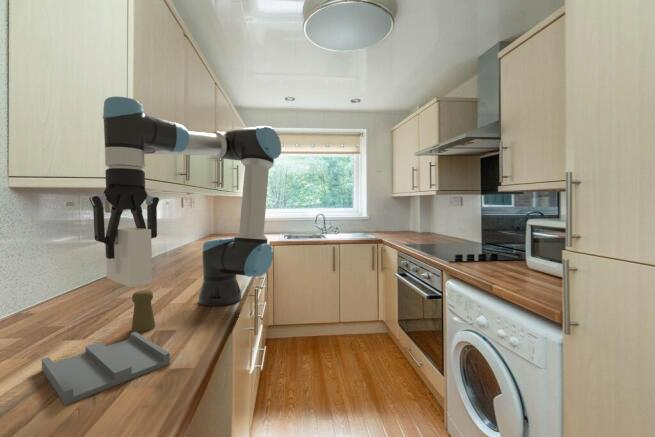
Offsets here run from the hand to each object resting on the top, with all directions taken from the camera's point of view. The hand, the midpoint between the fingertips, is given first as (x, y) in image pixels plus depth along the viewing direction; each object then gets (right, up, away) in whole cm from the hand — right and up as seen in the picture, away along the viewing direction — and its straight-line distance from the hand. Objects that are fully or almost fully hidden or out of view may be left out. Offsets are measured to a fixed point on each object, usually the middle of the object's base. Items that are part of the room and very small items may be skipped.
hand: (128, 270), depth 71 cm
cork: (-8, -20, +19) cm, 28 cm away
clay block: (0, -2, 0) cm, 2 cm away
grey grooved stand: (-3, -21, -3) cm, 21 cm away
